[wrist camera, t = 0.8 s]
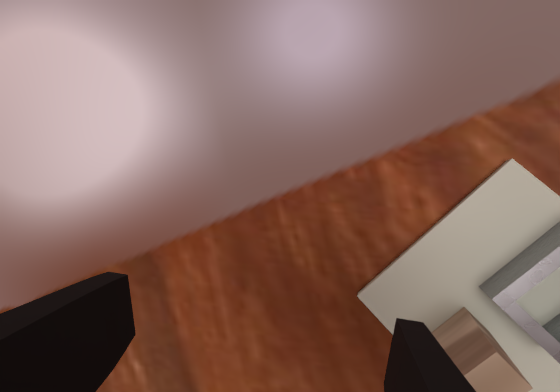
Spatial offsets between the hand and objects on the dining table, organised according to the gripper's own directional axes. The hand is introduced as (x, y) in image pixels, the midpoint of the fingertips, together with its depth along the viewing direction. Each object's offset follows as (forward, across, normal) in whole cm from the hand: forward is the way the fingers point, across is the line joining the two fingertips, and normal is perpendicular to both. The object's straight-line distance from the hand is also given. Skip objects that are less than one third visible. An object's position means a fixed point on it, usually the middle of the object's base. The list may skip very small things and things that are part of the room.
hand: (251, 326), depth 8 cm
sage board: (+14, -14, +8) cm, 21 cm away
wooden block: (+13, -10, +10) cm, 19 cm away
